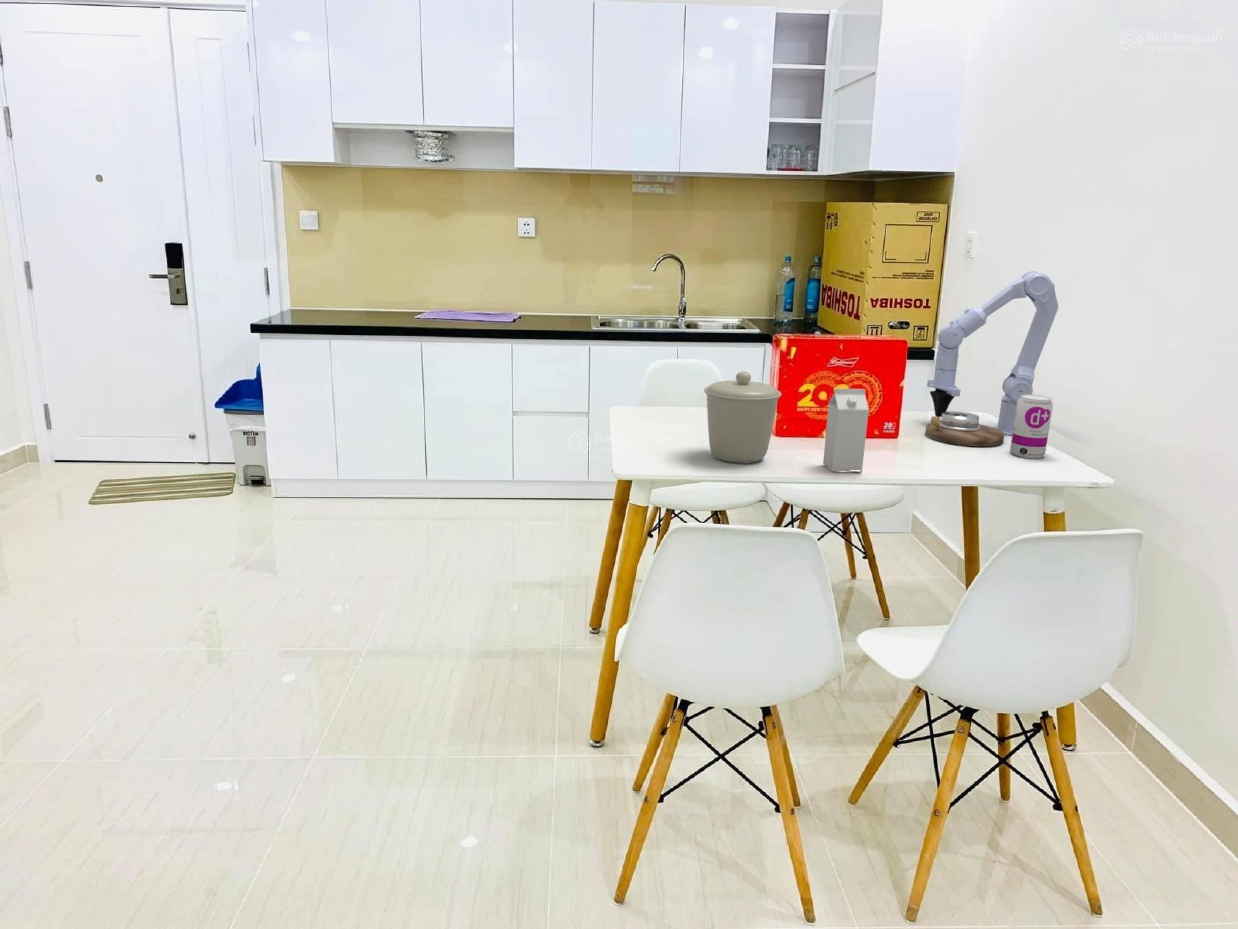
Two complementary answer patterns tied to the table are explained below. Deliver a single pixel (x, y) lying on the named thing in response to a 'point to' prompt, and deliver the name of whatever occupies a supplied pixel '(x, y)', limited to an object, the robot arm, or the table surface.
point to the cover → (960, 421)
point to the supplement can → (1031, 426)
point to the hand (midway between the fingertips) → (939, 416)
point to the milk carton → (846, 430)
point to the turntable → (964, 435)
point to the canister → (740, 418)
